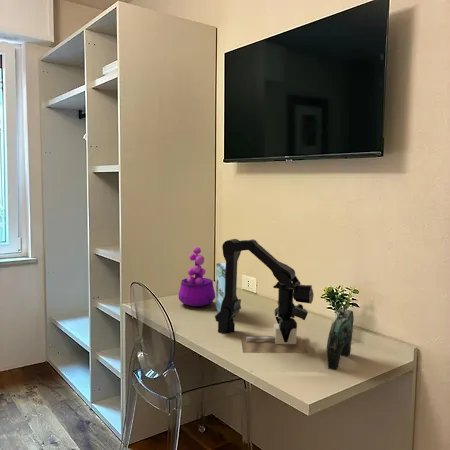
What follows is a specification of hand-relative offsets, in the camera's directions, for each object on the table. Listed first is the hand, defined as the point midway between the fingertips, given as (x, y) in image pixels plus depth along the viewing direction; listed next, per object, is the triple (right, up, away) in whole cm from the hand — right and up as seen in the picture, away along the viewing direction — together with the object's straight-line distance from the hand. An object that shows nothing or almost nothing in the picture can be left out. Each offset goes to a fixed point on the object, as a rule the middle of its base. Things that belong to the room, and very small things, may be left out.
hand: (284, 339), depth 180 cm
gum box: (-24, +2, +41) cm, 47 cm away
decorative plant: (-38, +4, +56) cm, 68 cm away
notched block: (0, -1, 0) cm, 1 cm away
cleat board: (-5, -2, -3) cm, 6 cm away
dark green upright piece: (+18, -4, -15) cm, 24 cm away
